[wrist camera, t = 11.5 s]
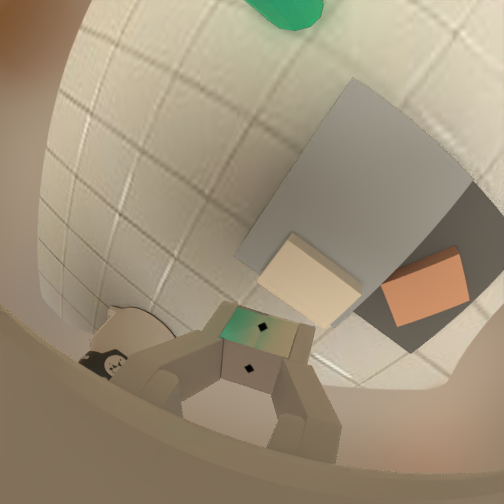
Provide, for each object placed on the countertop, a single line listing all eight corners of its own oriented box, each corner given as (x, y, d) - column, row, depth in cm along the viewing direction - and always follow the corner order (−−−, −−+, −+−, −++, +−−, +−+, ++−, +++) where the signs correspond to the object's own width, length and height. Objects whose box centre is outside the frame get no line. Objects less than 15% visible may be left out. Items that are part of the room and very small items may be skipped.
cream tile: (362, 284, 29) (361, 295, 28) (327, 318, 32) (324, 329, 31) (292, 231, 29) (287, 239, 28) (261, 271, 33) (255, 281, 31)
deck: (336, 314, 35) (334, 327, 33) (241, 246, 35) (233, 256, 33) (465, 173, 23) (474, 179, 21) (353, 80, 23) (353, 77, 21)
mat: (410, 351, 33) (410, 353, 33) (350, 307, 34) (350, 309, 33) (523, 244, 22) (524, 245, 22) (468, 176, 23) (470, 177, 22)
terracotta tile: (396, 316, 32) (397, 327, 30) (380, 275, 30) (380, 284, 29) (465, 290, 27) (469, 300, 25) (454, 245, 26) (459, 253, 24)
